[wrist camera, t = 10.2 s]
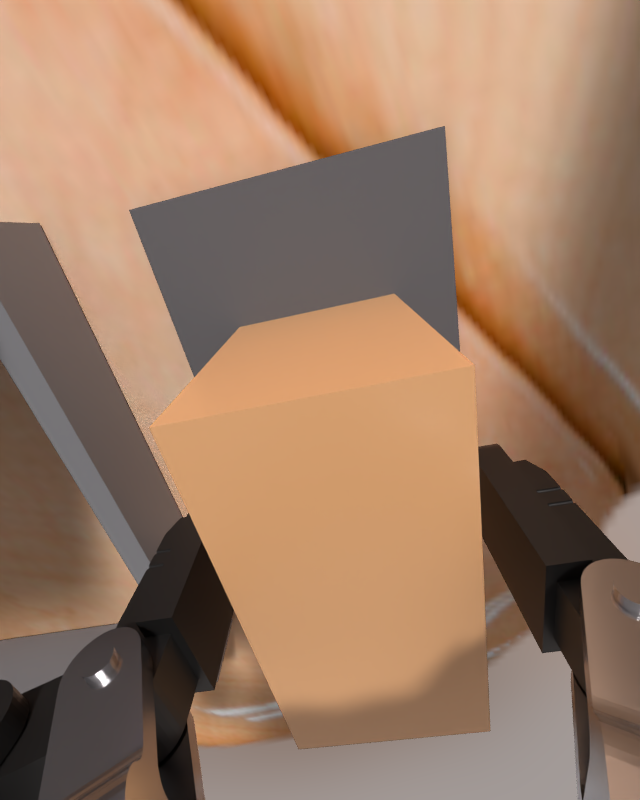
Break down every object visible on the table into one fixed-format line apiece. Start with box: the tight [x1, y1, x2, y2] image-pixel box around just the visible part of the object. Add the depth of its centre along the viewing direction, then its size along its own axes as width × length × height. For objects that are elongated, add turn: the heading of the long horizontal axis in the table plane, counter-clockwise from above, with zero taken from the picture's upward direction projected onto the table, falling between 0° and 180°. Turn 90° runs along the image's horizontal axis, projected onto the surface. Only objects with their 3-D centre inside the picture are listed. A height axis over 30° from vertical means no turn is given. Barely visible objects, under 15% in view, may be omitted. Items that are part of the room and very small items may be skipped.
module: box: [149, 294, 490, 749], centre depth 9 cm, size 4×9×6 cm, turn 12°
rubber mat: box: [129, 126, 460, 377], centre depth 12 cm, size 8×16×1 cm, turn 13°
